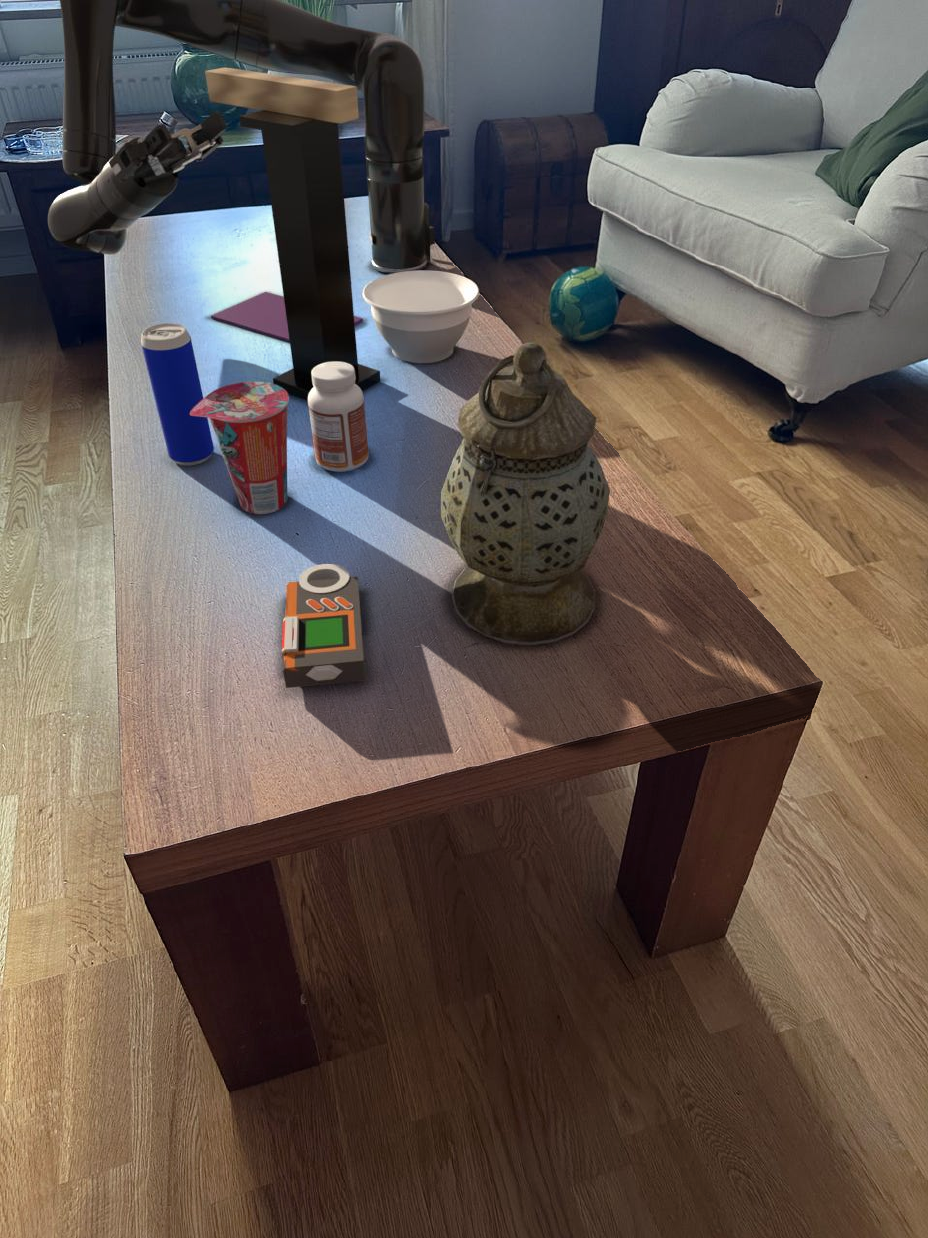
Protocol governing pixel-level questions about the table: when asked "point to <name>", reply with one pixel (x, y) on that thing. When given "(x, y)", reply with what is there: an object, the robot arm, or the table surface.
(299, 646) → the electronic device
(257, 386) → the cup
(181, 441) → the beverage can
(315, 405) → the pill bottle
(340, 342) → the stand
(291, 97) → the birch stick
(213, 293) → the table surface
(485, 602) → the lantern
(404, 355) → the bowl
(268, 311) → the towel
